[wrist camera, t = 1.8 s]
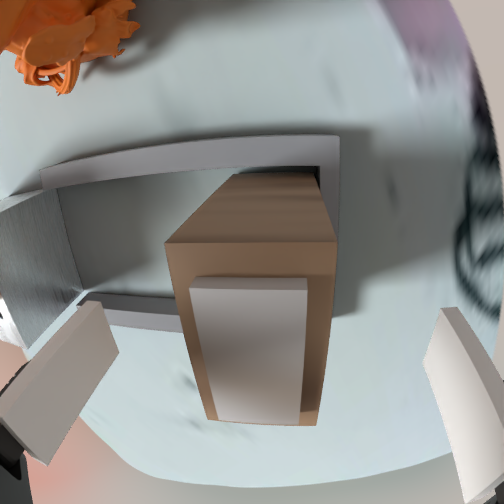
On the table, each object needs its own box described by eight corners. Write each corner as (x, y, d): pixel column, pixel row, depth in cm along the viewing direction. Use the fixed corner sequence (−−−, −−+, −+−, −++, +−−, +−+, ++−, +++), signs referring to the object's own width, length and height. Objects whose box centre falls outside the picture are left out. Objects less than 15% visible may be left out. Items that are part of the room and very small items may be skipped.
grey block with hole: (8, 196, 20) (-58, 230, 13) (56, 186, 19) (-23, 224, 12) (34, 285, 24) (-18, 332, 16) (83, 290, 23) (27, 349, 15)
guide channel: (56, 164, 18) (39, 170, 16) (334, 134, 15) (339, 136, 14) (93, 307, 23) (82, 320, 21) (327, 319, 20) (329, 337, 19)
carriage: (233, 174, 17) (155, 252, 7) (312, 172, 16) (340, 252, 7) (243, 294, 20) (204, 430, 11) (311, 295, 20) (316, 437, 10)
